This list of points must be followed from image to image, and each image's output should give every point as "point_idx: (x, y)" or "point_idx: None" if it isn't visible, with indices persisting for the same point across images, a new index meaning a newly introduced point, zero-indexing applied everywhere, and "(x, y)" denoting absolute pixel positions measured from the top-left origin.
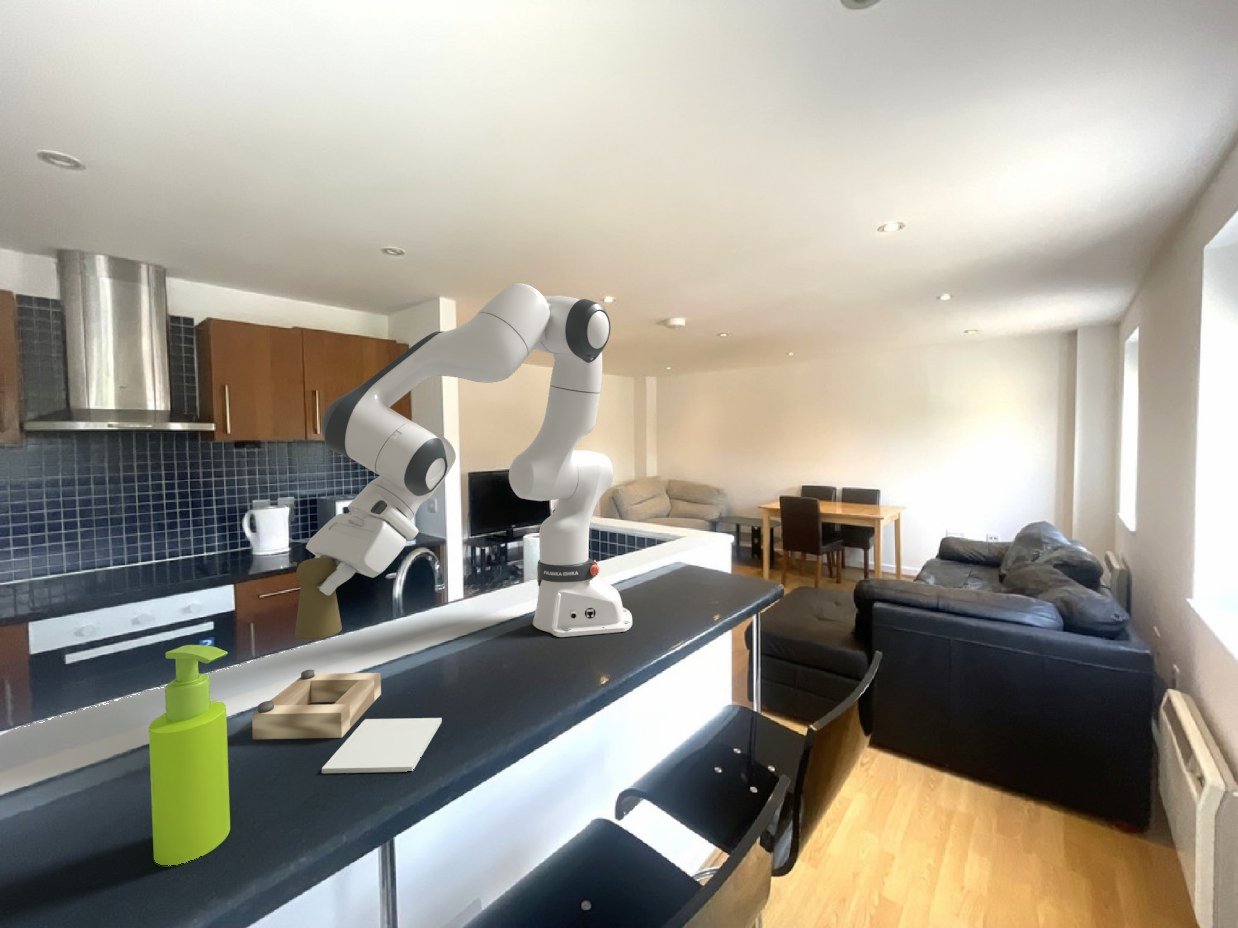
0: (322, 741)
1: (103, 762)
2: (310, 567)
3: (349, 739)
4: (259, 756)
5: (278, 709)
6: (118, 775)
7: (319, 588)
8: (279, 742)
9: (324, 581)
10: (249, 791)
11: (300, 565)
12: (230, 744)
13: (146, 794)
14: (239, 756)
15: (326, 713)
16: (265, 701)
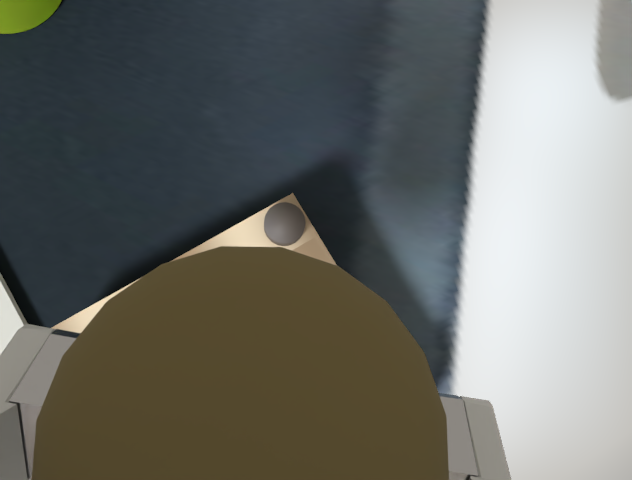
0: (105, 296)
1: (485, 10)
2: (128, 301)
3: (16, 326)
4: (190, 180)
5: (251, 245)
6: (396, 5)
7: (51, 328)
8: (209, 237)
9: (28, 376)
10: (67, 103)
11: (271, 261)
12: (314, 173)
13: (263, 4)
14: (236, 158)
15: (91, 307)
16: (303, 230)
